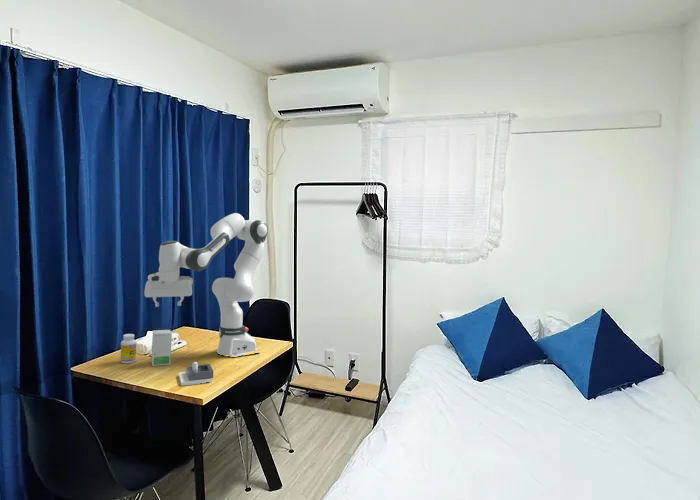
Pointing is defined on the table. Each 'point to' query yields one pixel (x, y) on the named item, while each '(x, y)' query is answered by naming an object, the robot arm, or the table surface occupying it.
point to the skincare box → (161, 347)
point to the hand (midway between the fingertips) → (168, 306)
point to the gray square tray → (200, 372)
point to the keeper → (185, 380)
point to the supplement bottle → (128, 349)
